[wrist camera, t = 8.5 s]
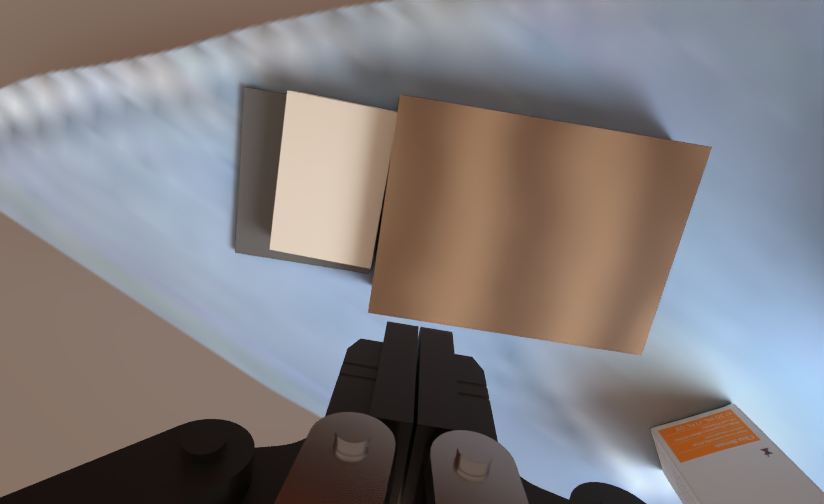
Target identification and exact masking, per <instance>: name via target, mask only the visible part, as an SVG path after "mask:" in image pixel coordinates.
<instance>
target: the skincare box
mask: <svg viewBox="0 0 824 504" xmlns="http://www.w3.org/2000/svg"><path fill="white" fill-rule="evenodd" d="M651 433H652V436H653V439H654V442H655V446H656V449H657V453H658V456H659V459H660V463H661V466H662V470H663V472H664V474H665V476H666V478H667V479H668V481H669V482H670V484H671V486H672V487H673V489H674V490H675V492H676V493H677V495H678V497H679V498H680V500H681V501H682V503H683V504H824V492H823V491H822V490H821V489H820V488H819V487H818V486H817V485H816V484H815V483H814V482H813V481H812V480H811V479H810V478H809V477H808V476H807V475H806V474H805V473H804V472H803V471H802V470H801V469H800V468H799V467H798V466H797V465H796V464H795V463H794V462H793V461H792V460H791V459H790V458H789V457H788V456H787V455H786V454H785V453H784V452H783V451H782V450H781V449H780V448H779V447H778V446H777V445H776V444H775V443H774V442H773V441H772V440H771V439H770V438H769V437H768V436H767V435H766V434H765V433H764V432H763V431H762V430H761V429H760V428H759V427H757V426H756V425H755V424H754V423H753V422H752V421H751V420H750V419H749V418H748V417H747V416H746V415H745V414H744V413H743V412H742V411H741V410H740V409H739V408H738V407H737V406H736V405H735V404H730V405H727V406H725V407H722V408H719V409H715V410H712V411H708V412H705V413H702V414H699V415H695V416H692V417H689V418H685V419H681V420H678V421H674V422H671V423H667V424H664V425H660V426H656V427H653V428H651Z"/></svg>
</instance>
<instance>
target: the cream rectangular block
mask: <svg viewBox="0 0 824 504" xmlns="http://www.w3.org/2000/svg"><path fill="white" fill-rule="evenodd" d="M396 118H397V111H392V110H387V109H382V108H377V107H372V106H367V105H362V104H358V103H353V102H348V101H343V100H338V99H333V98H328V97H323V96H318V95H313V94H308V93H303V92H298V91H288V90H287V98H286V106H285V115H284V124H283V133H282V142H281V151H280V160H279V169H278V178H277V187H276V196H275V205H274V213H273V222H272V231H271V240H270V249H269V250H274V251H280V252H285V253H290V254H295V255H301V256H306V257H311V258H316V259H322V260H327V261H332V262H337V263H343V264H348V265H353V266H358V267H364V268H369V269H371V265H372V262H373V259H374V254H375V248H376V243H377V237H378V232H379V226H380V221H381V215H382V210H383V204H384V199H385V193H386V187H387V180H388V173H389V166H390V160H391V153H392V146H393V139H394V132H395V125H396Z"/></svg>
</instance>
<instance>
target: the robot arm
mask: <svg viewBox="0 0 824 504" xmlns="http://www.w3.org/2000/svg"><path fill="white" fill-rule="evenodd" d="M486 386H487V385H486V380H485V375H484V371H483V369H482V368H481V367H480V366H479V365H478V363H477V362H476V361H475V360H474V359H473V357H469V356H463V355H457V354H454V345H453V334H452V332H449V331H443V330H437V329H431V328H425V327H421V328H420V331H419V336H418V326H412V325H406V324H400V323H394V322H388V321H387V326H386V331H385V336H384V341H383V342H378V341H372V340H366V339H360V340H358V341H357V342H356V343H354V344H353V345H352V346H350V347H349V348H348V349H347V352H346V355H345V358H344V361H343V364H342V367H341V370H340V374H339V376H338V379H337V382H336V385H335V388H334V391H333V394H332V397H331V400H330V403H329V406H328V409H327V412H326V415H325V417H324V418H322V419H320V420H319V421H317V422H316V423H315V424H314V425H313V427H312V428H311V429H310V431H309V433H308V435H307V437H306V438H305V439H303V440H301V441H298V442H295V443H292V444H287V445H281V446H271V447H258V448H254V441H253V438H252V436H251V434H250V433H249V432H248V431H247V430H246V429H245V428H243V427H242V426H240V425H238V424H236V423H233V422H230V421H226V420H220V419H204V420H196V421H192V422H188V423H185V424H183V425H180V426H177V427H175V428H172V429H170V430H167V431H165V432H162V433H160V434H157V435H155V436H152V437H150V438H147V439H145V440H143V441H140V442H137V443H135V444H132V445H130V446H127V447H125V448H123V449H120V450H117V451H115V452H112V453H110V454H107V455H105V456H103V457H100V458H98V459H95V460H93V461H91V462H88V463H85V464H83V465H80V466H78V467H75V468H73V469H70V470H68V471H65V472H63V473H60V474H58V475H55V476H53V477H51V478H48V479H46V480H43V481H40V482H38V483H36V484H33V485H30V486H28V487H25V488H23V489H21V490H18V491H16V492H13V493H11V494H8V495H6V496H3V497H1V498H0V504H646V503H645V502H643V501H642V500H640V499H639V498H638V497H636V496H635V495H633V494H631V493H629V492H628V491H625V490H623V489H621V488H619V487H616V486H613V485H610V484H606V483H600V482H588V483H583V484H581V485H579V486H577V487H576V488H575V489H574V490H573V491H572V493H571V496H570V499H569V500H568V499H566V498H563V497H561V496H558V495H556V494H554V493H551V492H549V491H546V490H544V489H541V488H539V487H537V486H535V485H533V484H531V483H529V482H528V481H526V480H525V479H523V478H522V477H520V475H519V472H518V469H517V466H516V464H515V461H514V459H513V457H512V456H511V454H510V453H509V452H508V451H507V450H506V449H505V448H504V447H503V446H502V445H501V444H500V443H498V441H497V435H496V430H495V425H494V420H493V415H492V410H491V405H490V400H489V395H488V390H487V388H486Z"/></svg>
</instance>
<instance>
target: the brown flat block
mask: <svg viewBox="0 0 824 504" xmlns="http://www.w3.org/2000/svg"><path fill="white" fill-rule="evenodd" d="M711 148H712V147H709V146H703V145H697V144H691V143H685V142H679V141H673V140H667V139H661V138H655V137H649V136H643V135H637V134H631V133H626V132H620V131H614V130H608V129H602V128H596V127H590V126H584V125H578V124H572V123H566V122H560V121H554V120H548V119H542V118H536V117H531V116H525V115H519V114H513V113H507V112H501V111H495V110H489V109H483V108H477V107H471V106H465V105H459V104H453V103H447V102H442V101H436V100H430V99H424V98H418V97H412V96H406V95H400V98H399V105H398V112H397V118H396V125H395V132H394V139H393V146H392V153H391V160H390V166H389V173H388V180H387V187H386V194H385V201H384V208H383V214H382V221H381V228H380V235H379V242H378V249H377V256H376V262H375V269H374V276H373V283H372V290H371V297H370V303H369V310H368V313H373V314H380V315H386V316H393V317H399V318H406V319H412V320H418V321H425V322H431V323H438V324H444V325H450V326H457V327H463V328H470V329H476V330H482V331H489V332H495V333H502V334H508V335H515V336H521V337H527V338H534V339H540V340H547V341H553V342H559V343H566V344H572V345H579V346H585V347H591V348H598V349H604V350H611V351H617V352H624V353H630V354H636V355H642V352H643V349H644V346H645V343H646V340H647V337H648V334H649V331H650V328H651V325H652V322H653V319H654V316H655V313H656V311H657V308H658V305H659V302H660V299H661V296H662V293H663V290H664V287H665V284H666V281H667V278H668V275H669V272H670V269H671V266H672V263H673V260H674V257H675V254H676V251H677V248H678V245H679V243H680V240H681V237H682V234H683V231H684V228H685V225H686V222H687V219H688V216H689V213H690V210H691V207H692V204H693V201H694V198H695V195H696V192H697V189H698V186H699V183H700V180H701V177H702V174H703V172H704V169H705V166H706V163H707V160H708V157H709V154H710V151H711Z"/></svg>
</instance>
